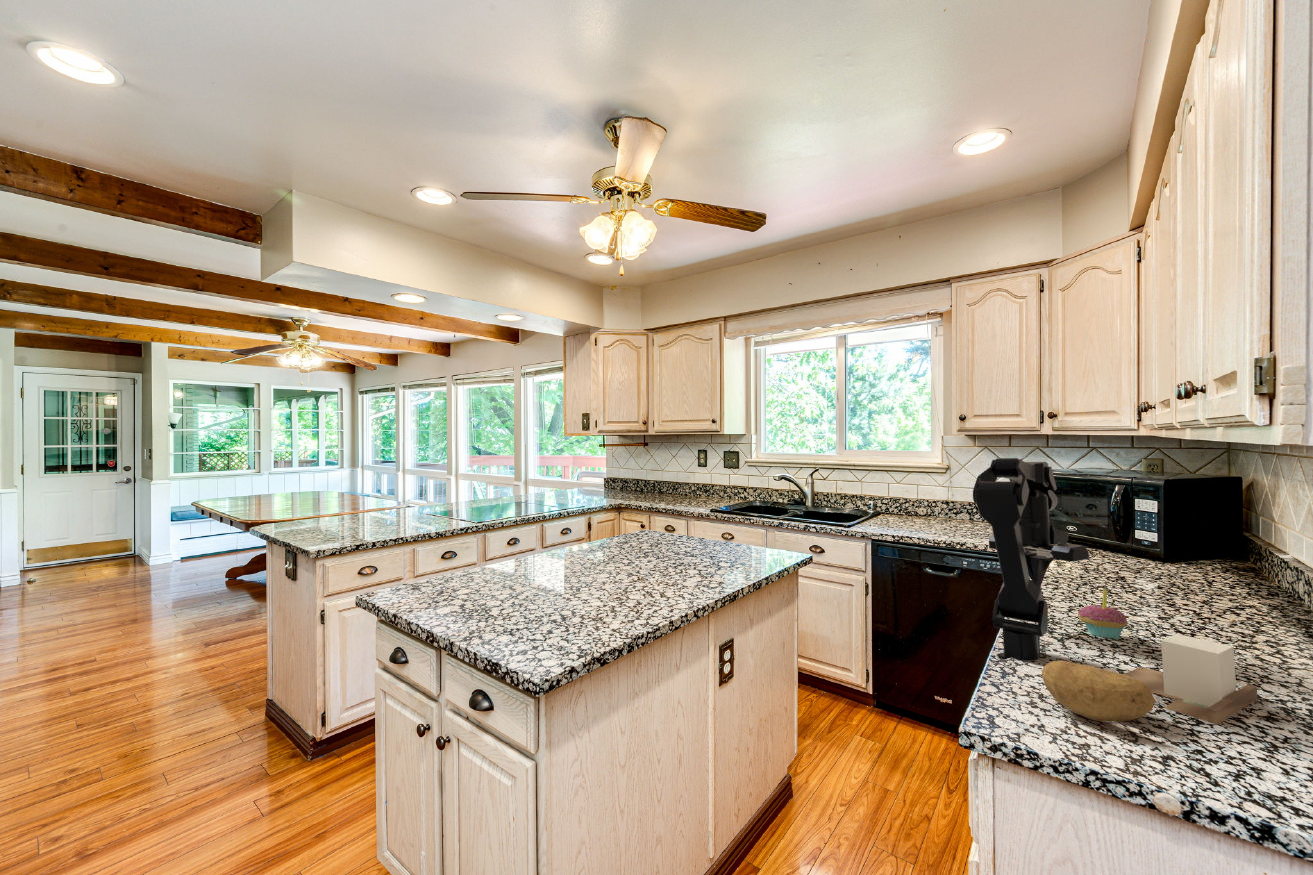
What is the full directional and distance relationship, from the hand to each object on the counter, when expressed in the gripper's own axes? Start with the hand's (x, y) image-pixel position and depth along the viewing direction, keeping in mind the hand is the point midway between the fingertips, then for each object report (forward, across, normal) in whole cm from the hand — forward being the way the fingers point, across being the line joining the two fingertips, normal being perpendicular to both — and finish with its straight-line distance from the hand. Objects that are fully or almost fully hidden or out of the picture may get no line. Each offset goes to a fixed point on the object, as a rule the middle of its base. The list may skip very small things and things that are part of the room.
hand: (1037, 585), depth 119 cm
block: (+11, -30, +7) cm, 33 cm away
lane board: (+12, -28, +8) cm, 31 cm away
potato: (+12, -26, +27) cm, 39 cm away
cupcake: (+12, -6, -12) cm, 18 cm away
